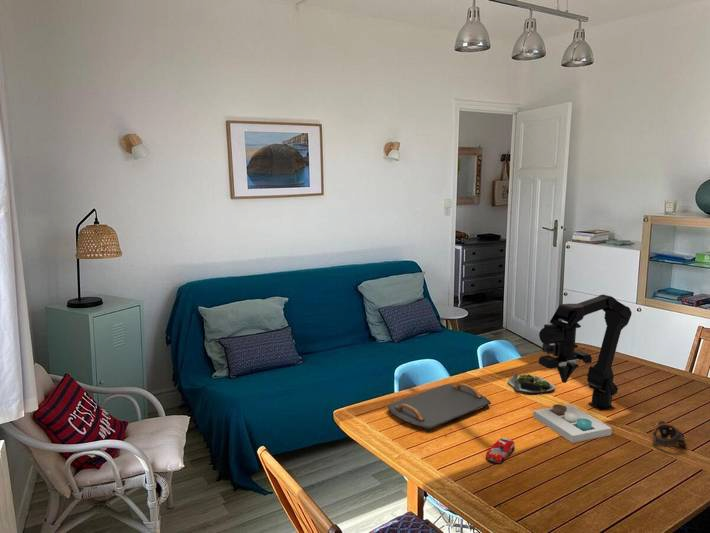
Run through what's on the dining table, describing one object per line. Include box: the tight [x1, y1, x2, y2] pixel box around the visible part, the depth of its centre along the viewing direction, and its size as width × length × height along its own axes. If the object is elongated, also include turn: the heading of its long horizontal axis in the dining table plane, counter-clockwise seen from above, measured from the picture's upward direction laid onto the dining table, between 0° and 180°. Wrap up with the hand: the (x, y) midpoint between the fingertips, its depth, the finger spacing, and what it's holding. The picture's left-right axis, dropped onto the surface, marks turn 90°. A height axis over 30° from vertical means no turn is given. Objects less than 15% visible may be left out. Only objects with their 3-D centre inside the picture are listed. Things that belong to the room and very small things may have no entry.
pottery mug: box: [651, 420, 687, 449], centre depth 172 cm, size 12×10×8 cm
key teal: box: [576, 418, 592, 431], centre depth 179 cm, size 5×5×3 cm
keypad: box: [532, 403, 613, 444], centre depth 185 cm, size 16×20×2 cm
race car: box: [485, 437, 515, 464], centre depth 166 cm, size 13×5×4 cm, turn 140°
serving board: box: [386, 382, 492, 433], centre depth 198 cm, size 39×23×6 cm, turn 128°
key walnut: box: [552, 403, 567, 416], centre depth 190 cm, size 5×5×3 cm
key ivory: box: [564, 411, 579, 423], centre depth 185 cm, size 5×5×3 cm
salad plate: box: [507, 373, 556, 396], centre depth 221 cm, size 19×18×5 cm
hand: (563, 382), depth 190 cm, fingers closed
